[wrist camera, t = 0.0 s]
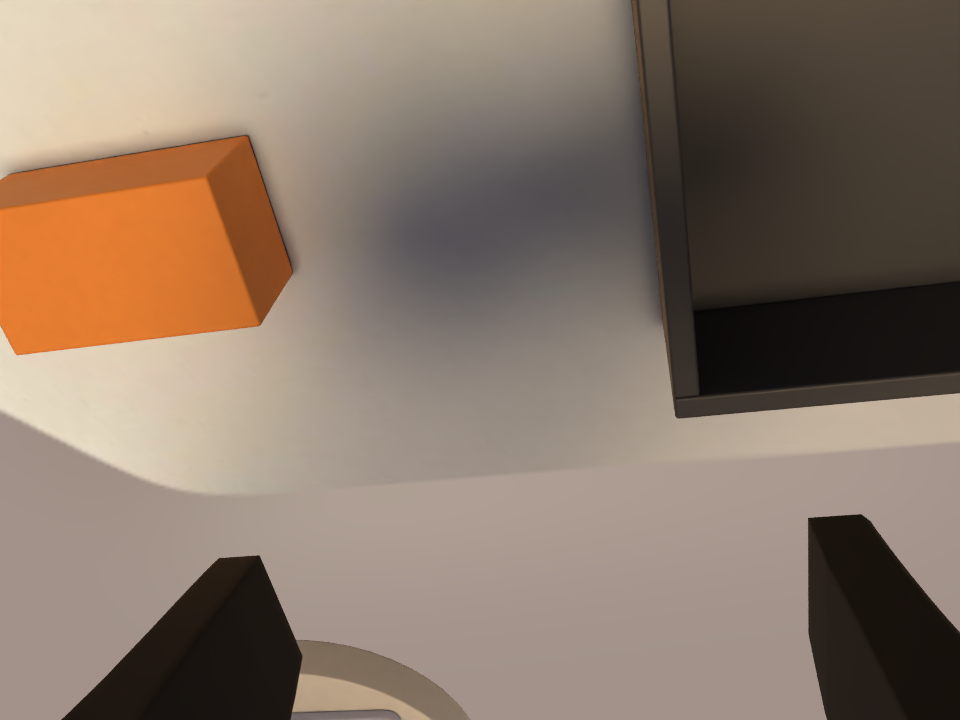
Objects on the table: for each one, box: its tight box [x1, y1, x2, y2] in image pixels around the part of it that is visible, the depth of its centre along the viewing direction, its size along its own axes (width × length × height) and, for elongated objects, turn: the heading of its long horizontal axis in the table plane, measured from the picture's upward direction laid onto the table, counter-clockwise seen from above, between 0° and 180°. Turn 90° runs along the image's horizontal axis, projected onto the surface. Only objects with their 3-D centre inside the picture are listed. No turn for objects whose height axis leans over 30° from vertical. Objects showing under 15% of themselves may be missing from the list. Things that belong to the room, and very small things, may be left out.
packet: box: [0, 136, 292, 355], centre depth 23 cm, size 4×7×3 cm, turn 101°
